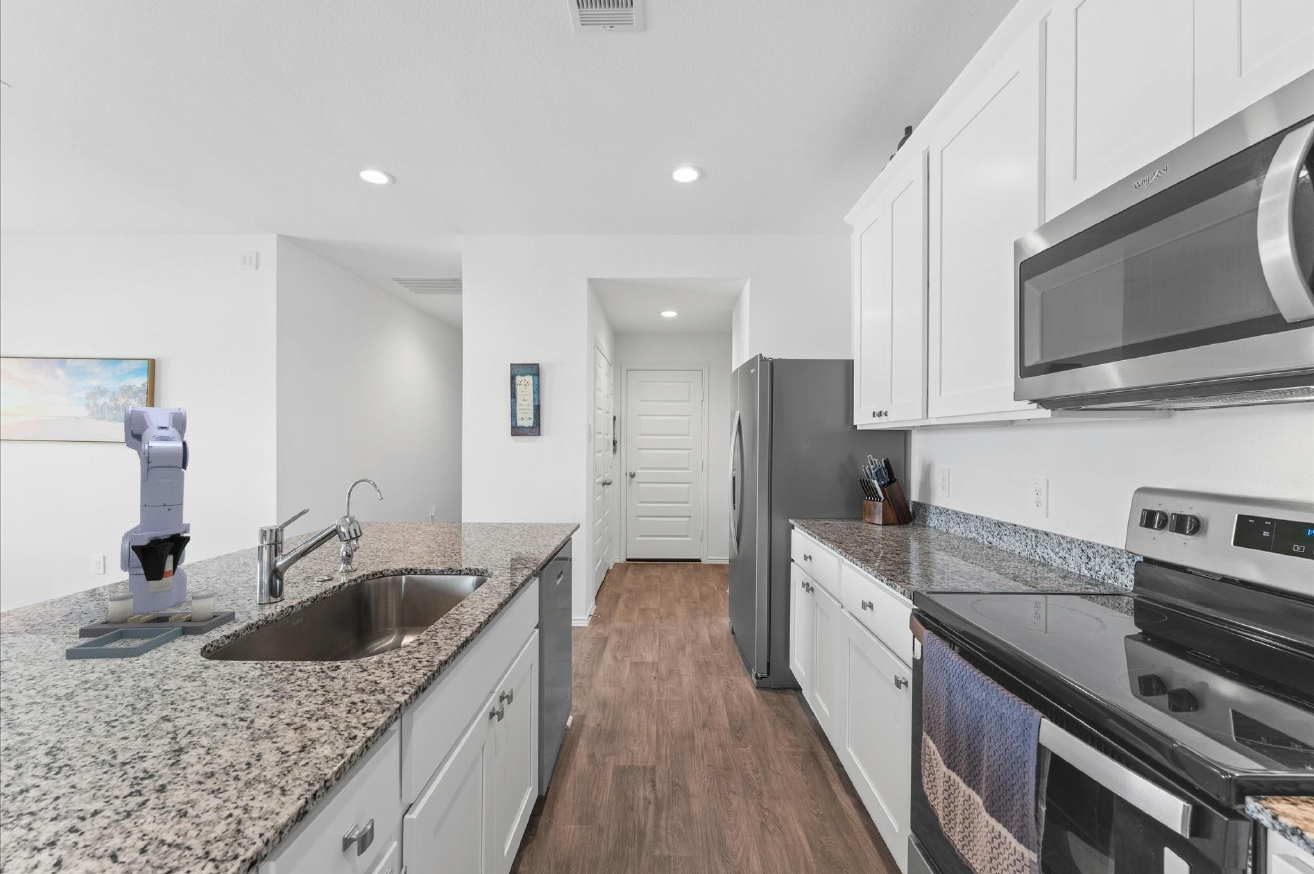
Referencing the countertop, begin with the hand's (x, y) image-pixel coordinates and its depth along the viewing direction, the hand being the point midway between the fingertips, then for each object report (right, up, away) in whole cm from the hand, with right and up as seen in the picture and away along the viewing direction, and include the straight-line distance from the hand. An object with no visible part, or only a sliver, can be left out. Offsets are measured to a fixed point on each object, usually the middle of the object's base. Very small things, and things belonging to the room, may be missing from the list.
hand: (160, 578), depth 101 cm
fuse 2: (+7, -10, +1) cm, 12 cm away
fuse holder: (0, -10, +1) cm, 10 cm away
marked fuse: (0, -2, 0) cm, 2 cm away
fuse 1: (-7, -9, 0) cm, 12 cm away
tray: (+3, -10, -9) cm, 14 cm away
